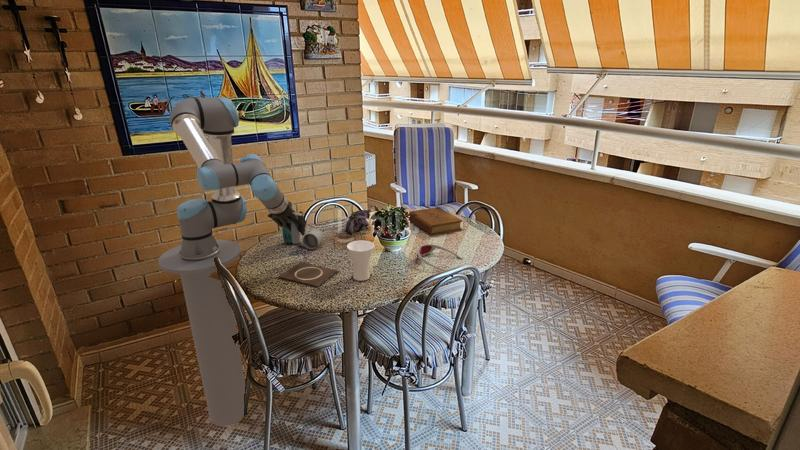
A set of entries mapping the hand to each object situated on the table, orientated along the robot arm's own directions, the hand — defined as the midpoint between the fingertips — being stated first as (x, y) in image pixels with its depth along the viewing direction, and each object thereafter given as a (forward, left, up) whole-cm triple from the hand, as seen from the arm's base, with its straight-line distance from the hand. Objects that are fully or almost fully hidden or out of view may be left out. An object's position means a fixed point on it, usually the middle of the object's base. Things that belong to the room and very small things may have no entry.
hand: (299, 232), depth 167 cm
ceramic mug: (-7, +17, -14) cm, 23 cm away
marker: (+1, -4, -4) cm, 5 cm away
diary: (+36, +66, -14) cm, 76 cm away
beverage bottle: (-18, +16, -14) cm, 28 cm away
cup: (+29, 0, -14) cm, 32 cm away
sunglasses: (+51, +26, -14) cm, 59 cm away
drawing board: (+9, -7, -14) cm, 18 cm away
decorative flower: (+3, +44, -14) cm, 46 cm away
